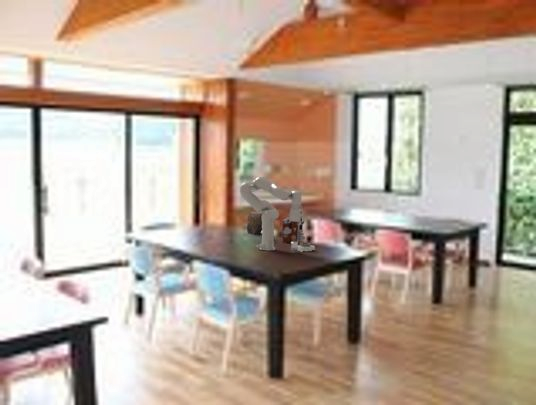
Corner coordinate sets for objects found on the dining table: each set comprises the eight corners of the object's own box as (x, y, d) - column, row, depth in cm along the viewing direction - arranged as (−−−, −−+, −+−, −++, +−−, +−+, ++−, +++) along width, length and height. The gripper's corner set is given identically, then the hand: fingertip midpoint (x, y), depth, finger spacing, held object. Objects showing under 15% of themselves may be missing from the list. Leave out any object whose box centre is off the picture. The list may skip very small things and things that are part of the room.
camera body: (301, 251, 444) (301, 244, 444) (294, 249, 452) (295, 243, 451) (314, 250, 451) (314, 243, 451) (307, 248, 459) (308, 241, 458)
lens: (293, 253, 436) (294, 241, 436) (289, 252, 441) (290, 240, 440) (298, 252, 439) (299, 241, 438) (295, 251, 443) (295, 240, 442)
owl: (245, 232, 529) (246, 211, 527) (256, 231, 537) (256, 211, 535) (253, 234, 519) (254, 213, 517) (264, 233, 527) (265, 212, 525)
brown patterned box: (303, 244, 479) (304, 220, 477) (281, 242, 483) (281, 219, 481) (304, 242, 488) (305, 219, 486) (282, 240, 492) (283, 218, 490)
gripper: (308, 207, 434) (307, 229, 436) (289, 205, 444) (289, 227, 446) (303, 208, 428) (302, 230, 430) (284, 206, 438) (283, 228, 440)
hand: (295, 228), depth 438 cm, fingers open, 9 cm apart
